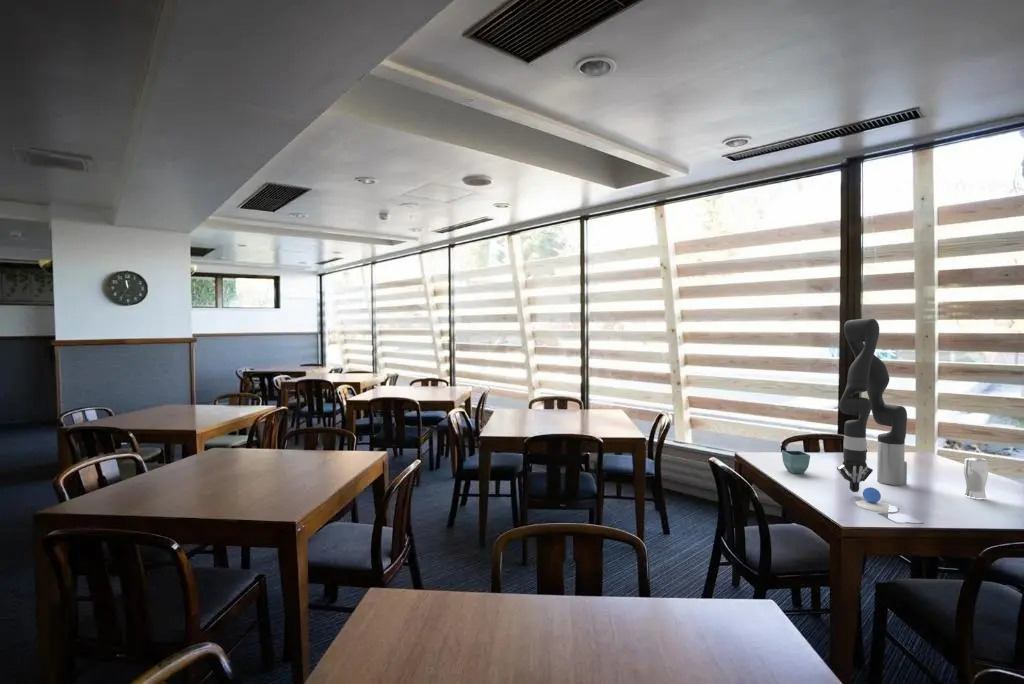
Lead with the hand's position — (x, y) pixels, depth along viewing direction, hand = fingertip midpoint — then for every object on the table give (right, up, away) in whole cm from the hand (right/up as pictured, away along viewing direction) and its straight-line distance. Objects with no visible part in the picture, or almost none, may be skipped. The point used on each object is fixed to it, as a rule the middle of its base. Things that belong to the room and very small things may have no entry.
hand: (854, 491), depth 199 cm
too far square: (-1, -2, -25) cm, 25 cm away
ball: (+1, +1, -9) cm, 9 cm away
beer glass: (+45, -2, -3) cm, 45 cm away
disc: (-1, -2, -13) cm, 13 cm away
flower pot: (-5, -1, +33) cm, 34 cm away
